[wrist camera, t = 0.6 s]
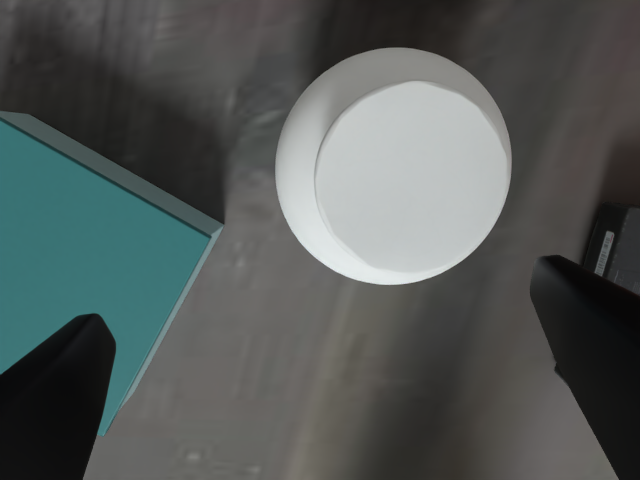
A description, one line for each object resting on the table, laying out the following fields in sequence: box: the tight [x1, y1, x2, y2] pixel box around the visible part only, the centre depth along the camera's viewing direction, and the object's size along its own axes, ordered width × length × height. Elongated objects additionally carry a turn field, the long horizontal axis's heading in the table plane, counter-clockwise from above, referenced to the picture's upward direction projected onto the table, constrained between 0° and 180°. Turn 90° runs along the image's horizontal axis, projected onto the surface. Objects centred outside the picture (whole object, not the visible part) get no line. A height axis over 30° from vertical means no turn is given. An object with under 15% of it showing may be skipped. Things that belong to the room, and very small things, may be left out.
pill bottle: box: [275, 48, 512, 285], centre depth 17 cm, size 8×7×14 cm
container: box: [0, 111, 224, 437], centre depth 23 cm, size 14×12×4 cm
